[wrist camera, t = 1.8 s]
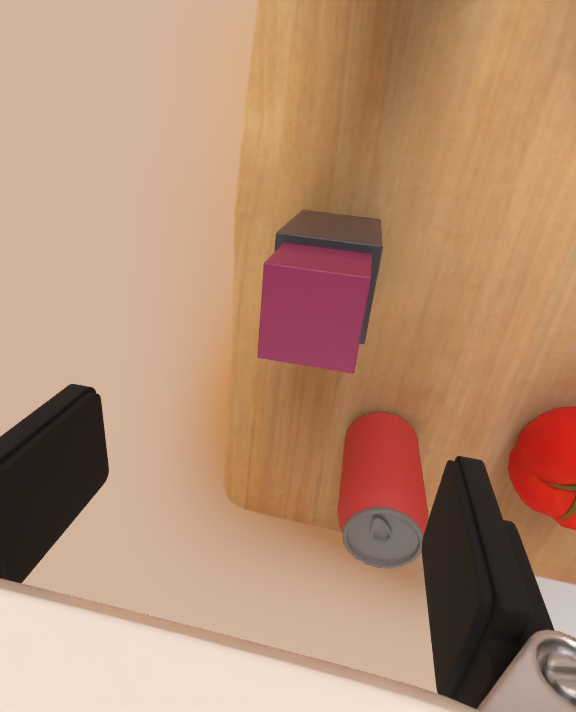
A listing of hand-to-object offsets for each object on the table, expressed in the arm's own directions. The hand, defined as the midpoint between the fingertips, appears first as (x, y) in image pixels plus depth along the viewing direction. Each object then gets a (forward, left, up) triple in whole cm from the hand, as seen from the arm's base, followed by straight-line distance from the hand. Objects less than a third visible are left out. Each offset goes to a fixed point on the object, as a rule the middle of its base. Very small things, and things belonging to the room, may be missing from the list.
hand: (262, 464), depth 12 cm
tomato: (+25, -1, -26) cm, 36 cm away
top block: (0, 0, -16) cm, 16 cm away
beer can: (+14, -11, -26) cm, 31 cm away
